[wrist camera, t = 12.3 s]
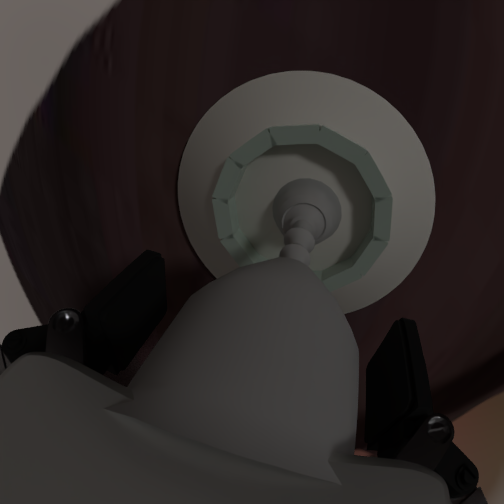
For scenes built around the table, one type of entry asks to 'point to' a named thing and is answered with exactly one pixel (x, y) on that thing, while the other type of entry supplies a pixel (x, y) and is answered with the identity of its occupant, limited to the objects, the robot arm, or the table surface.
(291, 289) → the chalice
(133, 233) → the table surface
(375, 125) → the plate
